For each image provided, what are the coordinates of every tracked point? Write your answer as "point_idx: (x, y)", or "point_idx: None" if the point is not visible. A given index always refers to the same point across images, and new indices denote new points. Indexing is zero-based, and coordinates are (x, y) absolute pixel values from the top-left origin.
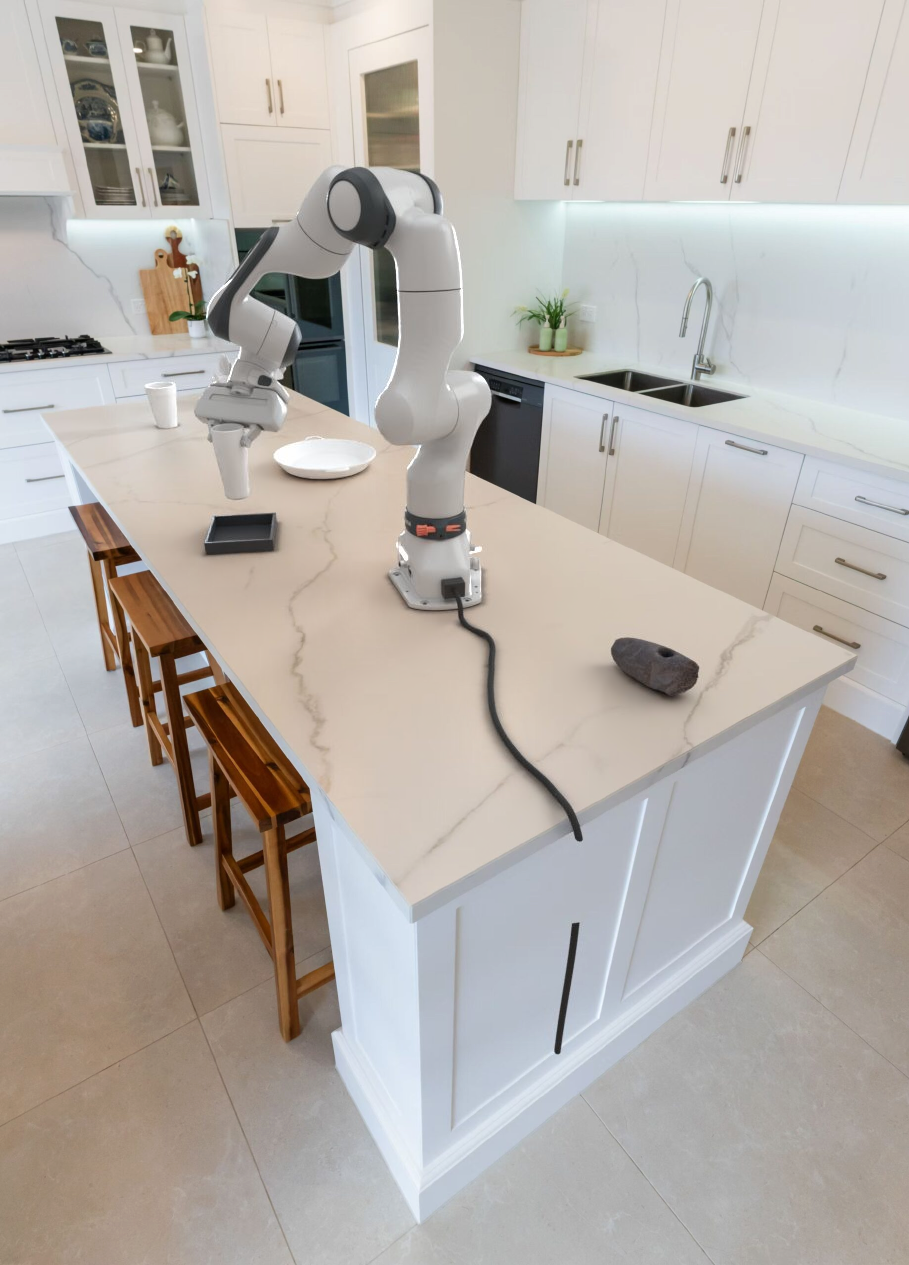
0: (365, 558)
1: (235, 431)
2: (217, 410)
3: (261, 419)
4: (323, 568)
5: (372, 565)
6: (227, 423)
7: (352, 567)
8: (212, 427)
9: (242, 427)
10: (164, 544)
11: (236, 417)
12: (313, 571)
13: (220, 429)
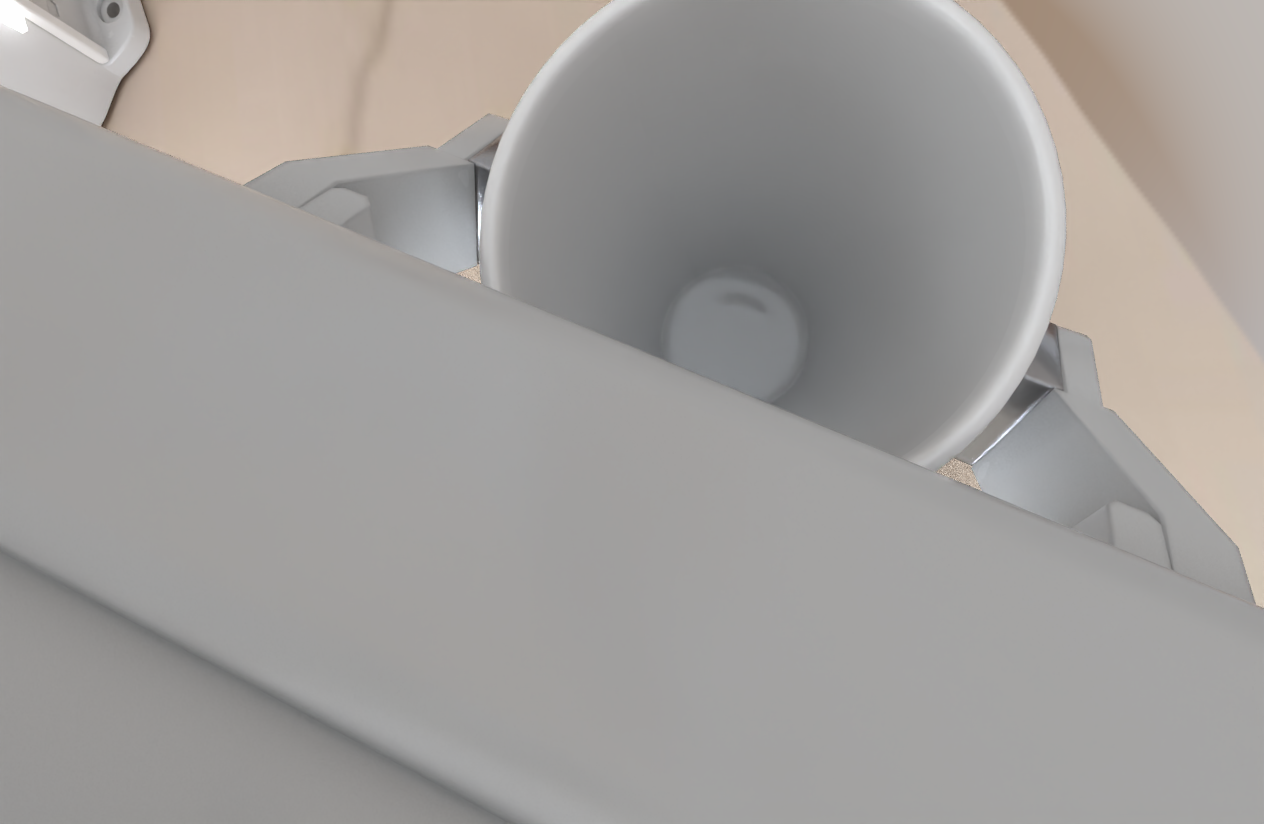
0: (240, 183)
1: (565, 45)
2: (1155, 711)
3: (4, 122)
4: (372, 86)
5: (212, 125)
6: None
7: (275, 103)
8: (1047, 229)
9: (486, 238)
10: (1094, 288)
11: (554, 340)
12: (403, 57)
13: (920, 428)
